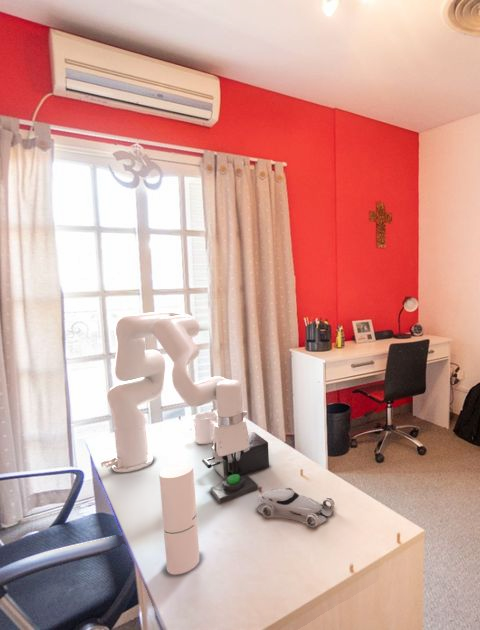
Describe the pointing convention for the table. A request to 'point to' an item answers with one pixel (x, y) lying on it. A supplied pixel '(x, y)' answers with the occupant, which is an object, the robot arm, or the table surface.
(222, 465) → the drawer
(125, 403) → the robot arm
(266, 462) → the cabinet
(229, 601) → the table surface
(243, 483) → the control block
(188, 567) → the cylindrical container
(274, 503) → the car model
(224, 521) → the table surface
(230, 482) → the button
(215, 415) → the mug
